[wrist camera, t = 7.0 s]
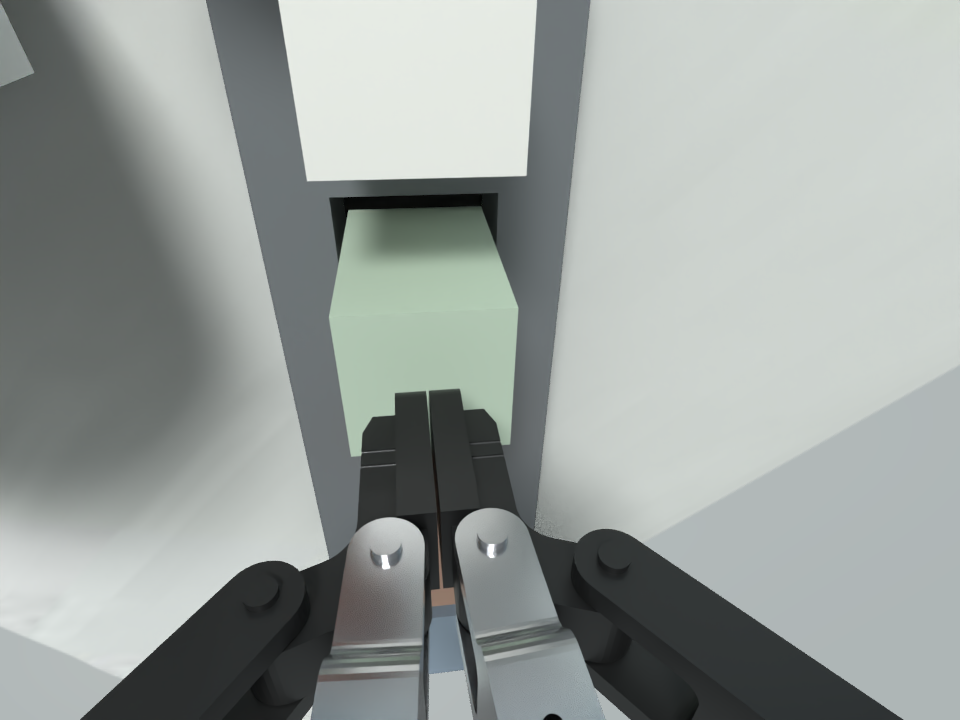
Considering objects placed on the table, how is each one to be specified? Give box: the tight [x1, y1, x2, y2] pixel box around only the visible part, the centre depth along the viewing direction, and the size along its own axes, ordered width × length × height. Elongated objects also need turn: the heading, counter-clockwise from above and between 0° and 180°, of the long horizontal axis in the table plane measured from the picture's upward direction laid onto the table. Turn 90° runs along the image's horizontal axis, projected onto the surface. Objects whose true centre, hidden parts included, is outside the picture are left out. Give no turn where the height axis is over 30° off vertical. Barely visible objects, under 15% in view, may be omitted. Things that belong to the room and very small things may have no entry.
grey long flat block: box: [206, 0, 590, 559], centre depth 23 cm, size 10×30×4 cm, turn 179°
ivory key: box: [278, 0, 537, 181], centre depth 13 cm, size 4×4×7 cm
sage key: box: [329, 206, 518, 457], centre depth 17 cm, size 4×4×7 cm
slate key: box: [429, 604, 464, 674], centre depth 27 cm, size 4×4×7 cm
